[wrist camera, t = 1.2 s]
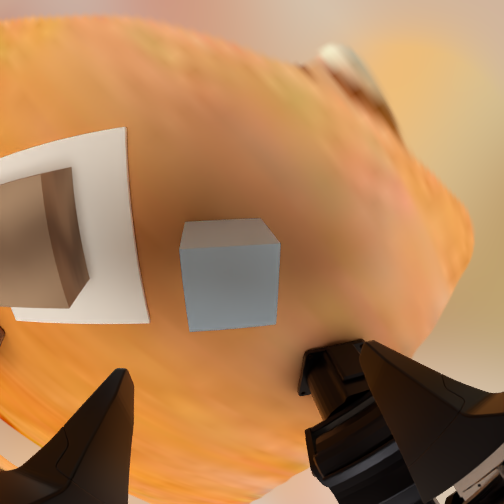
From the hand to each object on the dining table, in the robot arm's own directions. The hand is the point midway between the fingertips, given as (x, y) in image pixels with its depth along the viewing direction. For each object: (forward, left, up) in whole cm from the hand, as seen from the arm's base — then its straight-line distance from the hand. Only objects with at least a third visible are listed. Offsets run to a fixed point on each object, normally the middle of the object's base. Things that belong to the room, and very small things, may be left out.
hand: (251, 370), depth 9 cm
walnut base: (+3, +14, -10) cm, 18 cm away
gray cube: (0, 0, -11) cm, 11 cm away
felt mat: (+2, +13, -11) cm, 17 cm away
